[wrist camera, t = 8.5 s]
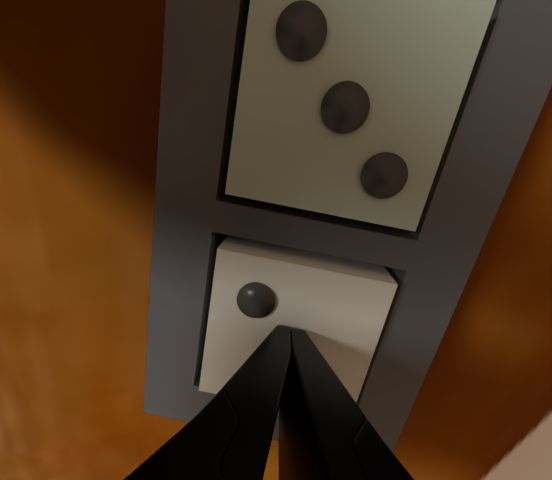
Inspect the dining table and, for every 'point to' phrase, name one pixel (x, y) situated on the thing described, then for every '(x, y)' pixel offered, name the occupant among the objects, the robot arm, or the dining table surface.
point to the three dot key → (351, 102)
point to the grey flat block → (318, 226)
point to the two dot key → (293, 307)
